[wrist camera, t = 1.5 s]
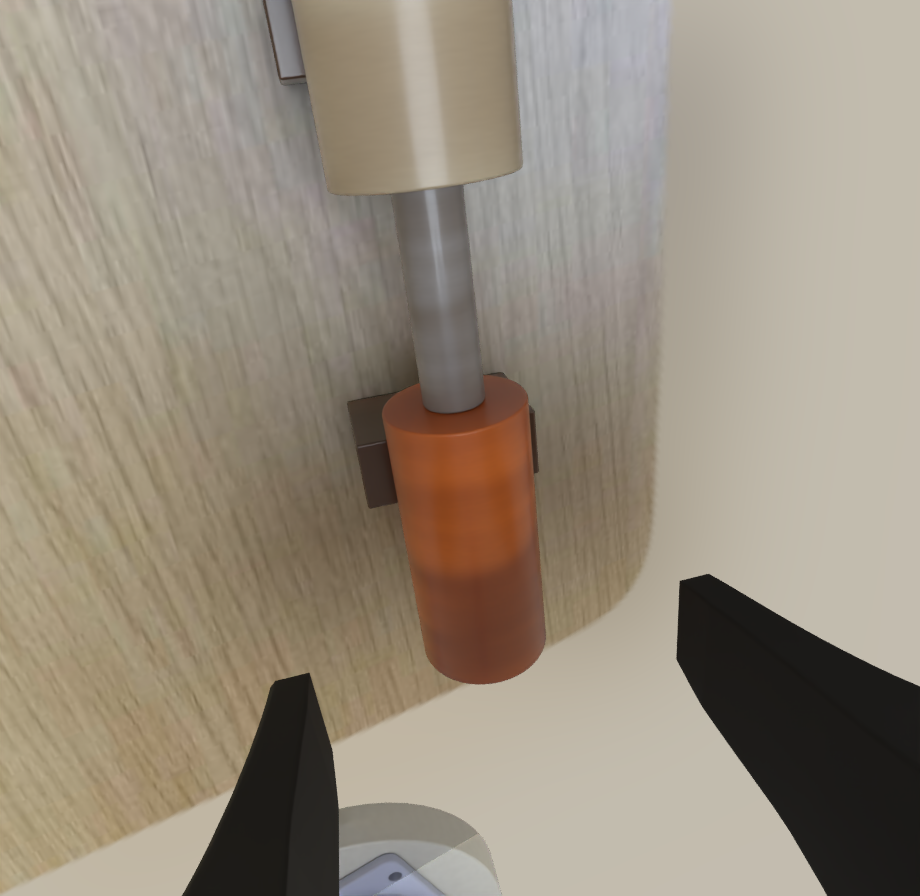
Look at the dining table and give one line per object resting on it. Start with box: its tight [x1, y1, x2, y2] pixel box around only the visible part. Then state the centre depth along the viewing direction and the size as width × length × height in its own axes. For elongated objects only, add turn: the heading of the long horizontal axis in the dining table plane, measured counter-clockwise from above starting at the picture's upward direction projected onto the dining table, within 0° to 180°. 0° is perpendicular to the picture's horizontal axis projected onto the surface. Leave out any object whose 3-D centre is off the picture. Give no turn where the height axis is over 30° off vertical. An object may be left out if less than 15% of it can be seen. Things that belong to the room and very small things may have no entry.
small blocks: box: [263, 0, 539, 508], centre depth 14 cm, size 10×4×3 cm, turn 7°
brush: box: [291, 0, 546, 684], centre depth 12 cm, size 15×3×3 cm, turn 7°
